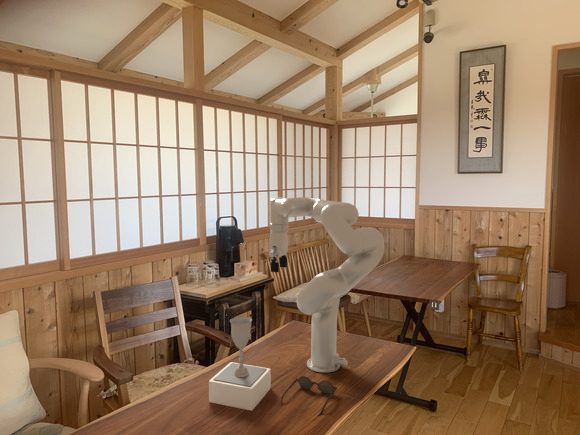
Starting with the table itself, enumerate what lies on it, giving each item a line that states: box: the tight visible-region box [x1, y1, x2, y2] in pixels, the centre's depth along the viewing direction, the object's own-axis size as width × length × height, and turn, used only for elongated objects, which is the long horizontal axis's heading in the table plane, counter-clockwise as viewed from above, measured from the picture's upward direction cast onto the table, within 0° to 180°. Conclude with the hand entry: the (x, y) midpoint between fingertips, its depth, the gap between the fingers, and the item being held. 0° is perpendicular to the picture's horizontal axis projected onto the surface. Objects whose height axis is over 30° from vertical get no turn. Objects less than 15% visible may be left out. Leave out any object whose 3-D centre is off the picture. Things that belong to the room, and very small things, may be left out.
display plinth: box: [208, 361, 272, 411], centre depth 146 cm, size 15×15×7 cm
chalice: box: [229, 316, 253, 377], centre depth 145 cm, size 7×7×18 cm
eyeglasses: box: [279, 375, 338, 417], centre depth 143 cm, size 15×15×5 cm
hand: (279, 269), depth 182 cm, fingers open, 9 cm apart
